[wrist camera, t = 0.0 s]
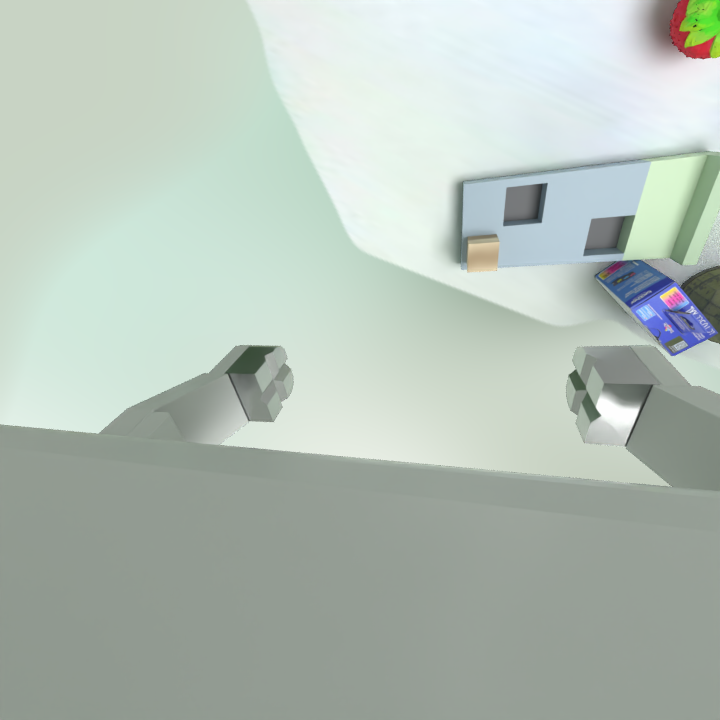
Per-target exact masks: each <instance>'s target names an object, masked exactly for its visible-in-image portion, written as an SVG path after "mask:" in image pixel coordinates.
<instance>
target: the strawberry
mask: <svg viewBox="0 0 720 720" xmlns="http://www.w3.org/2000/svg"><path fill="white" fill-rule="evenodd" d="M670 22H671V23H670V26H671V27H670V28H669V29H671V30H670V31H671V33H670V36H671V39H672V40H673V42H672V44H674V46H675V45H676V46H677V47H678V50H680V51H679V52H683V53H684V54H685V55H686V57H691V58H692V59H693V58H694V59H696V58H700V59H701V58H702V59H706V58H711V57H712V58H717V57H720V0H681V1H680V2H679V3H678V4H677V8H676V9H675V10H674V13H673V19H672V20H670Z"/></svg>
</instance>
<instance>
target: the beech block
mask: <svg viewBox="0 0 720 720" xmlns="http://www.w3.org/2000/svg"><path fill="white" fill-rule="evenodd" d="M499 244H500V241H499V239H498V236H497V234H493V235H481V236H468V240H467V272H483V271H497V267H498V256H499Z"/></svg>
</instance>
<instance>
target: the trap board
mask: <svg viewBox="0 0 720 720" xmlns="http://www.w3.org/2000/svg"><path fill="white" fill-rule="evenodd" d="M719 210H720V152H711V151H706V152H698V153H690V154H682V155H674V156H666V157H657V158H649V159H641V160H633V161H625V162H617V163H609V164H601V165H593V166H585V167H577V168H568V169H560V170H552V171H544V172H536V173H528V174H520V175H512V176H504V177H496V178H488V179H480V180H471V181H463V211H462V247H461V270H467V240H468V236H481V235H493V234H497V236H498V239H499V241H500V244H499V256H498V267H497V268H502V267H519V266H537V265H555V264H572V263H590V262H607V261H625V260H642V259H660V258H671V259H672V260H674V261H676V262H677V263H679V264H680V265H696V264H697V262H698V259H699V257H700V255H701V252H702V250H703V248H704V245H705V243H706V240H707V238H708V236H709V233H710V231H711V229H712V226H713V224H714V221H715V219H716V217H717V214H718V212H719Z"/></svg>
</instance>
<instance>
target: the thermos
mask: <svg viewBox="0 0 720 720" xmlns="http://www.w3.org/2000/svg"><path fill="white" fill-rule="evenodd" d="M681 289H682V290H683V291H684V293H685V294H686V295H687V296H688V297H689V298H690V300H691V301H692V302H693V303H694V304H695V306H696V307H697V308H698V309H699V310H700V312H701V313H702V314H703V315H704V316H705V317H706V319H707V320H708V321H709V322H710V323H711V324H712V326H713V327H714V328H715V329H716V331H717V332H718V334H716V335H714V336H713V337H711V338H709V339H708V340H710V341H713V342H717V343H719V344H720V266H717V267H713V268H710V269H707V270H704V271H702V272H700V273H698V274H696V275H694V276H693V277H691V278H690V279H689V280H688V281H686V282H685V283H684V284H683V285H682V286H681Z"/></svg>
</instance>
